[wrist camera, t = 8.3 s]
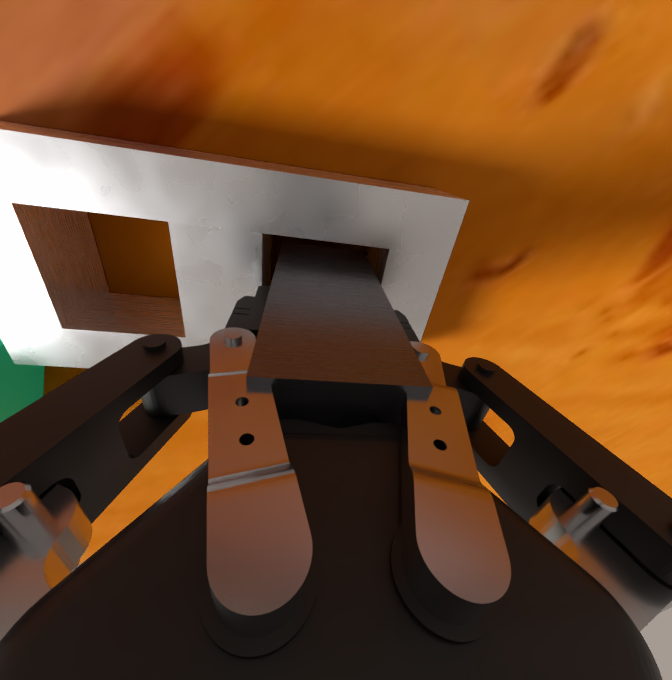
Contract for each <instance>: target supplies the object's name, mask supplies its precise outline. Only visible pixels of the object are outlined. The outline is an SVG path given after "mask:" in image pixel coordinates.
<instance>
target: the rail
mask: <svg viewBox="0 0 672 680" xmlns="http://www.w3.org/2000/svg"><path fill="white" fill-rule="evenodd" d="M469 201H470V200H467V199H464V198H461V197H458V196H455V195H453V194H450V193H447V192H444V191H441V190H439V189H436V188H430V187H424V186H418V185H411V184H405V183H398V182H392V181H385V180H379V179H373V178H366V177H360V176H353V175H347V174H340V173H334V172H328V171H321V170H315V169H308V168H302V167H295V166H289V165H283V164H276V163H270V162H263V161H257V160H250V159H244V158H238V157H231V156H225V155H218V154H212V153H205V152H199V151H193V150H186V149H180V148H173V147H167V146H160V145H154V144H148V143H141V142H135V141H128V140H122V139H115V138H109V137H103V136H96V135H90V134H83V133H77V132H70V131H64V130H58V129H51V128H45V127H38V126H32V125H25V124H19V123H13V122H6V121H0V338H1V340H2V342H3V344H4V345H5V347H6V349H7V351H8V353H9V355H10V356H11V358H12V360H13V362H14V364H22V365H40V366H58V367H75V368H90V367H92V366H94V365H95V364H97V363H99V362H100V361H102V360H103V359H105V358H107V357H108V356H110V355H112V354H113V353H115V352H116V351H118V350H120V349H121V348H123V347H125V346H126V345H128V344H130V343H131V342H133V341H134V340H136V339H138V338H141V337H144V336H147V335H152V334H169V335H173V336H176V337H177V338H179V339H180V341H181V343H182V347H190V346H198V345H204V344H207V343H210V337H211V335H212V334H213V333H215V332H216V331H218V330H221V329H224V328H225V327H226V324H227V322H228V320H229V318H230V316H231V314H232V311H233V309H234V307H235V304H236V302H237V301H238V300H239V299H241V298H242V297H244V296H254V297H255V295H256V292H257V289H258V286H270V281H271V240H272V235H281V236H289V237H297V238H305V239H313V240H321V241H329V242H338V243H346V244H354V245H362V246H369V250H368V255H367V259H368V261H369V263H370V265H371V267H372V269H373V271H374V272H375V274H376V276H377V278H378V280H379V282H380V284H381V286H382V288H383V290H384V292H385V294H386V296H387V298H388V300H389V302H390V304H391V306H392V308H393V310H398V311H400V312H401V313H402V314H403V315H405V316H406V318H407V320H408V321H409V324H410V325H411V327H412V329H413V330H414V332H415V334H416V336H417V337H418V339H419V341H421V338H422V335H423V333H424V330H425V327H426V324H427V321H428V318H429V315H430V312H431V310H432V307H433V304H434V301H435V298H436V295H437V292H438V290H439V287H440V284H441V281H442V278H443V275H444V272H445V269H446V267H447V264H448V261H449V258H450V255H451V252H452V249H453V246H454V244H455V241H456V238H457V235H458V232H459V229H460V226H461V224H462V221H463V218H464V215H465V212H466V209H467V206H468V203H469ZM87 212H93V213H101V214H109V215H117V216H126V217H134V218H142V219H150V220H158V221H166V222H168V224H169V231H170V237H171V244H172V250H173V257H174V264H175V270H176V277H177V283H178V290H179V296H180V299H176V298H164V297H153V296H142V295H131V294H120V293H110V291H109V288H108V284H107V281H106V277H105V274H104V270H103V267H102V263H101V260H100V256H99V253H98V249H97V246H96V242H95V239H94V235H93V232H92V228H91V225H90V221H89V218H88V214H87Z"/></svg>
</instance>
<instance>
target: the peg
mask: <svg viewBox="0 0 672 680" xmlns="http://www.w3.org/2000/svg"><path fill="white" fill-rule="evenodd" d="M246 385H260V386H271V389H272V393H273V397H274V401H275V405H276V409H277V414H278V418H279V419H292V420H304V421H308V422H312V423H316V424H320V425H324V426H328V427H333V428H345V427H351V426H356V425H362V424H367V423H396V424H401V415H400V411H401V408H402V405H403V403H404V400H405V397H406V394H407V393H409V394H428V395H430V394H431V391H432V389H433V386H432V384H431V382H430V380H429V378H428V376H427V374H426V372H425V370H424V368H423V366H422V364H421V362H420V360H419V358H418V356H417V354H416V353H415V351H414V349H413V347H412V345H411V343H410V341H409V339H408V337H407V335H406V333H405V331H404V329H403V327H402V325H401V323H400V321H399V319H398V317H397V315H396V313H395V312H394V310H393V308H392V306H391V304H390V302H389V300H388V298H387V296H386V294H385V292H384V290H383V288H382V286H381V284H380V282H379V280H378V278H377V276H376V274H375V272H374V271H373V269H372V267H371V265H370V263H369V261H368V259H367V257H366V255H365V253H364V251H357V250H349V249H340V248H332V247H324V246H315V245H307V244H299V243H290V242H282V245H281V249H280V252H279V256H278V260H277V264H276V267H275V271H274V275H273V278H272V282H271V286H270V290H269V293H268V297H267V301H266V305H265V308H264V312H263V316H262V319H261V323H260V327H259V331H258V334H257V338H256V342H255V346H254V349H253V353H252V357H251V360H250V364H249V368H248V372H247V375H246Z"/></svg>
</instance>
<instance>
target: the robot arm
mask: <svg viewBox="0 0 672 680" xmlns="http://www.w3.org/2000/svg"><path fill="white" fill-rule="evenodd" d="M269 290H270V286H258V289H257V292H256V295H255V297H254V296H244V297H242V298H241V299H239V300H238V301H237V302H236V304H235V307H234V309H233V311H232V314H231V316H230V318H229V320H228V322H227V324H226V327H225V328H224V329H221V330H218V331H216V332H215V333H213V334H212V335H211V337H210V343H207V344H204V345H198V346H190V347H182V343H181V341H180V339H179V338H177V337H176V336H173V335H169V334H152V335H147V336H144V337H141V338H138V339H136V340H134V341H133V342H131V343H130V344H128V345H126V346H125V347H123V348H121V349H120V350H118V351H116V352H115V353H113V354H112V355H110V356H108V357H107V358H105V359H103V360H102V361H100V362H99V363H97V364H95V365H94V366H92V367H90V368H89V369H87V370H85V371H84V372H82V373H81V374H79V375H77V376H76V377H74V378H72V379H71V380H69V381H68V382H66V383H64V384H63V385H61V386H59V387H58V388H56V389H54V390H53V391H51V392H50V393H48V394H46V395H45V396H43V397H41V398H40V399H38V400H36V401H35V402H33V403H32V404H30V405H28V406H27V407H25V408H23V409H22V410H20V411H19V412H17V413H15V414H14V415H12V416H10V417H9V418H7V419H5V420H4V421H2V422H1V423H0V680H662V677H661V674H660V671H659V668H658V666H657V664H656V662H655V659H654V657H653V655H652V653H651V651H650V649H649V647H648V645H647V643H646V642H645V640H644V638H643V636H642V635H641V633H640V631H641V630H642V629H643V628H644V627H645V626H646V625H647V624H648V623H649V622H650V621H651V620H652V619H653V618H654V617H655V616H656V615H657V614H658V613H660V612H662V611H664V610H666V609H668V608H671V607H672V498H670V497H669V496H668V495H667V494H665V493H664V492H663V491H661V490H660V489H659V488H657V487H656V486H655V485H653V484H652V483H651V482H650V481H648V480H647V479H646V478H644V477H643V476H642V475H640V474H639V473H638V472H636V471H635V470H634V469H633V468H631V467H630V466H629V465H627V464H626V463H625V462H623V461H622V460H621V459H619V458H618V457H617V456H616V455H614V454H613V453H612V452H610V451H609V450H608V449H606V448H605V447H604V446H602V445H601V444H600V443H598V442H597V441H596V440H595V439H593V438H592V437H591V436H589V435H588V434H587V433H585V432H584V431H583V430H581V429H580V428H579V427H578V426H576V425H575V424H574V423H572V422H571V421H570V420H568V419H567V418H566V417H564V416H563V415H562V414H561V413H559V412H558V411H557V410H555V409H554V408H553V407H551V406H550V405H549V404H547V403H546V402H545V401H543V400H542V399H541V398H540V397H538V396H537V395H536V394H534V393H533V392H532V391H530V390H529V389H528V388H526V387H525V386H524V385H523V384H521V383H520V382H519V381H517V380H516V379H515V378H513V377H512V376H511V375H509V374H508V373H507V372H506V371H504V370H503V369H502V368H500V367H499V366H498V365H496V364H494V363H493V362H490V361H488V360H485V359H482V358H477V357H471V358H467V359H466V360H465V362H464V364H463V366H462V367H459V366H455V365H451V364H448V363H444V362H441V358H440V355H439V353H438V352H437V351H436V350H435V349H434V348H432V347H431V346H429V345H427V344H424V343H420V341H419V339H418V337H417V336H416V334H415V332H414V330H413V329H412V327H411V325H410V324H409V321H408V320H407V318H406V316H405V315H403V314H402V313H401V312H400V311H398V310H394V312H395V313H396V315H397V317H398V319H399V321H400V323H401V325H402V327H403V329H404V331H405V333H406V335H407V337H408V339H409V341H410V343H411V345H412V347H413V349H414V351H415V353H416V354H417V356H418V358H419V360H420V362H421V364H422V366H423V368H424V370H425V372H426V374H427V376H428V378H429V380H430V382H431V384H432V386H433V389H432V391H431V394H430V395H428V394H409V393H407V394H406V397H405V400H404V403H403V405H402V408H401V411H400V415H401V424H396V423H367V424H362V425H356V426H351V427H345V428H333V427H328V426H324V425H320V424H316V423H312V422H308V421H304V420H292V419H279V418H278V414H277V409H276V405H275V401H274V397H273V393H272V389H271V386H260V385H246V375H247V372H248V368H249V364H250V360H251V357H252V353H253V349H254V346H255V342H256V338H257V334H258V331H259V327H260V323H261V319H262V316H263V312H264V308H265V305H266V301H267V297H268V293H269ZM140 398H141V399H142V403H141V404H140V405H139V406H137V407H136V408H135V409H134V410H133V411H132V412H130V413H129V414H128V415H127V416H126V417H125V418H123V419H122V420H121V421H120V418H121V416H122V415H123V413H124V412H125V411H126V410H127V409H128V408H129V407H131V406H132V405H133V404H134V403H135V402H137V401H138V400H139V399H140ZM490 408H491V409H492V410H493V411H494V412H495V413H496V414H497V415H498V416H499V417H500V418H501V419H503V420H504V421H505V422H506V423H507V424H508V425H509V426H510V427H511V429H512V430H513V432H514V436H515V440H514V442H513V444H512V445H511V447H509V446H508V445H507V444H506V443H505V442H504V441H503V440H502V439H501V438H500V437H499V436H498V435H497V434H496V433H495V432H494V431H493V430H492V429H491V428H490V427H489V426H488V425H487V424H486V423H485V422H484V421H483V419H484V417H485V416H486V414H487V412H488V410H489V409H490ZM206 409H208V459H207V460H206V461H205V462H204V463H203V464H201V465H200V466H199V467H198V468H197V469H195V470H194V471H193V472H192V473H190V474H189V475H188V476H187V477H186V478H184V479H183V480H182V481H181V482H180V483H178V484H177V485H176V486H175V487H174V488H172V489H171V490H170V491H169V492H168V493H166V494H165V495H164V496H163V497H162V498H160V499H159V500H158V501H157V502H156V503H154V504H153V505H152V506H151V507H150V508H148V509H147V510H146V511H145V512H144V513H142V514H141V515H140V516H139V517H138V518H136V519H135V520H134V521H133V522H131V523H130V524H129V525H128V526H127V527H125V528H124V529H123V530H122V531H121V532H119V533H118V534H117V535H116V536H115V537H113V538H112V539H111V540H110V541H109V542H107V543H106V544H105V545H104V546H103V547H101V548H100V549H99V550H98V551H97V552H95V553H94V554H93V555H92V556H91V557H89V558H88V559H87V560H86V561H85V562H83V563H82V564H81V565H80V566H79V567H77V566H78V564H79V561H80V558H81V556H82V555H83V554H84V552H85V551H86V549H87V547H88V545H89V543H90V540H91V536H92V525H91V524H92V523H93V522H94V520H95V519H96V518H97V517H98V516H99V515H100V514H101V513H102V512H103V511H104V510H105V509H106V507H107V506H108V505H109V504H110V503H111V502H112V501H113V500H114V499H115V498H116V497H117V496H118V494H119V493H120V492H121V491H122V490H123V489H124V488H125V487H126V486H127V485H128V484H129V483H130V481H131V480H132V479H133V478H134V477H135V476H136V475H137V474H138V473H139V472H140V471H141V470H142V468H143V467H144V466H145V465H146V464H147V463H148V462H149V461H150V460H151V459H152V458H153V457H154V455H155V454H156V453H157V452H158V451H159V450H160V449H161V448H162V447H163V446H164V445H165V444H166V442H167V441H168V440H169V439H170V438H171V437H172V436H173V435H174V434H175V433H176V432H177V431H178V429H179V428H180V427H181V426H182V425H183V424H184V423H185V422H186V421H187V420H188V418H189V417H190V416H191V414H192V412H196V411H201V410H206ZM119 421H120V422H119ZM477 470H478V471H479V472H480V474H481V475H482V476H483V477H484V478H485V479H486V481H487V482H488V483H489V484H490V485H491V486H492V488H493V489H494V490H495V491H496V492H497V493H498V495H499V496H500V497H501V498H502V499H503V500H504V502H505V503H506V504H507V505H508V506H507V505H506V504H505V503H504V502H503V501H501V500H500V499H499V498H498V497H497V496H495V495H494V494H493V493H492V492H491V491H489V490H488V489H487V488H486V487H485V486H483V485H482V483H481V482H480V479H479V475H478V471H477Z"/></svg>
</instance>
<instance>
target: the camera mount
mask: <svg viewBox="0 0 672 680" xmlns="http://www.w3.org/2000/svg"><path fill="white" fill-rule="evenodd" d="M44 371H45V366H40V365H22V364H14V362H13V360H12V358H11V356H10V355H9V353H8V351H7V349H6V347H5V345H4V344H3V342H2V340H1V338H0V423H1V422H2V421H4V420H5V419H7V418H9V417H10V416H12V415H14V414H15V413H17V412H19V411H20V410H22V409H23V408H25V407H27V406H28V405H30V404H32V403H33V402H35V401H36V400H38V399H40V398H41V397H43V390H44Z"/></svg>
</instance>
